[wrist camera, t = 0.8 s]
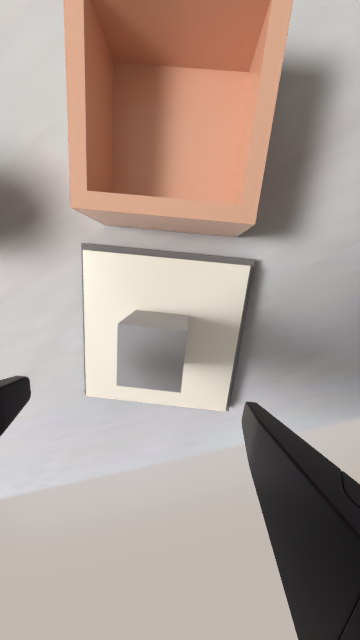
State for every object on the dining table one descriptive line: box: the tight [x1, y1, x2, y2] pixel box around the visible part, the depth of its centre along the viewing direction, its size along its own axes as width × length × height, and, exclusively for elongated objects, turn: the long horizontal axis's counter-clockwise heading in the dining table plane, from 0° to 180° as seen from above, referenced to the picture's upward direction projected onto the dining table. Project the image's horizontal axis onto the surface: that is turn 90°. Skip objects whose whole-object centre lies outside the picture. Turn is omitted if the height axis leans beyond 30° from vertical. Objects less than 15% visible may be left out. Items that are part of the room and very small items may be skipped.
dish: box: [64, 0, 293, 237], centre depth 12 cm, size 10×10×4 cm
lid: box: [83, 250, 250, 412], centre depth 14 cm, size 12×12×5 cm
